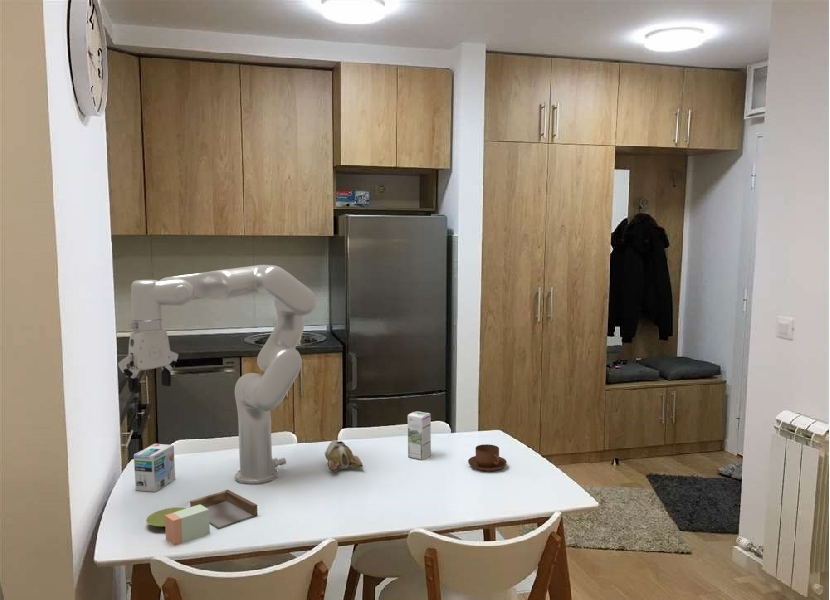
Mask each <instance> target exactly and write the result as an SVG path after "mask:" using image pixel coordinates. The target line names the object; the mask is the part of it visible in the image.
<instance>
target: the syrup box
mask: <svg viewBox="0 0 830 600" xmlns="http://www.w3.org/2000/svg"><path fill="white" fill-rule="evenodd" d="M431 419H432V417H431V413H429V412H422V411H412V412H411V413H409V414H407V444H408V445H407V451H408V452H407V454H408V455H407V456H408V458H411V459H415V460H419V461H423V460H426V459H428V458H430V457H431V456H432V440H431V439H432V435H431V432H432V431H431V429H432V427H431V425H432V424H431V423H432V421H431Z"/></svg>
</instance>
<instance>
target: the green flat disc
mask: <svg viewBox="0 0 830 600" xmlns="http://www.w3.org/2000/svg"><path fill="white" fill-rule="evenodd" d="M183 509H187V507H180V506H179V507H170V508H164V509H161V510H158V511H155V512H154V513H151V514H150V515H149V516H147V518H146V523H147V524H148V525H150V526H155V527H165V515H167V514H170V513H174V512H177V511H180V510H183Z"/></svg>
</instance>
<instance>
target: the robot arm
mask: <svg viewBox="0 0 830 600" xmlns="http://www.w3.org/2000/svg"><path fill="white" fill-rule="evenodd" d="M130 293H131V316H132V317H131V319H132V320H131V323H129V324H128V329H130V330H132V332H130V335H129V340H128V341H129V342H128V355H127V356H126V357H124V358H122V360H120V361H118V363H117V365H118V368H119V369H120V371H121V373H122V374H123V375H125V377H126V378H127V380H128V383H127V384H128V386H127V387H128V390H129V393H133V394H137V393H139V378H138V377H137V376H138V374H139V373H140V371H148V370H152V369H159V368H161V369H162V370H161V371H160V372H161V373H160V375H161V376H160V377H161V385H162V386H165V387H171V385H172V384H171V383H172V382H171V381H172V372H173V368H175V366H176V365H177V362H178V361H177V360H178V358H179V354H178V353H176V352H174V351H172V350H171V347H170V341H169V335H168V332H167V329H164V321H163V320H164V319H163V306H169V307H181V306H182V307H183V306H186V305H187V304H189V303H190V302H191V301H192V300H203V299H204V300H207V299H208V300H230V299H237V298H241V297H247V296H255V295H262V294H268V295H271V296H272V297H273V302H274V303H273V304H274V307H275V310H276V314H277V320H276V325H275V326H274V329H273V330H272V332H271V334H270V335H269V337H268V339H267V340H266V341H265V344H264V345H263V347H262V348H261V350H260V351H259V353H258V355H257V358H256V359H257V360H256V365H257V366H258V368H259V369H260V370H261V371H262V372H264V373H263V375H262V374H260V373H255V372H249V373H245V374H243V375H241V376H240V377H239V378H238V380H237V381H236V382H235V386H234V399H235V404H236V410H237V418H238V419H237V423H238V448H239V449H238V450H239V470H238V471H236V473H235V474H234V479H235V481H237V482H238V483H240V484H247V485H248V484H249V485H252V484H253V485H254V484H255V485H257V484H262V483H263V484H264V483H267V482H270V481H272V480H274V479H275V478H277V476H278V473H279V471H278V469H276V468H278V466H282V465H286V464H287V460H286V458H285V457H283V458H279V459H278V458H277V457H274V458H273V448H272V446H273V444H272V416H271V415H272V414H271V411H272V410H276V409H277V408H278V406H279V405H281V404H282V402H283V400H284V399H285V396H286V395H287V394H288V392H289V390H290V389H291V387H292V386H293V384H294V382H295V381H296V379H297V377H298V375H299V374H300V371H301V369H302V363H303V362H302V356H301V353H300V352H299V351H298V350H297V349H296V348H297V346H298V344H299V342H300V340H301V338H302V336H303V332H304V327H305V324H304V323H305V322H304V317H305V316H308V315H310V314H312V312H314V311H315V308H316V305H317V299H316V296H315V294H314V292H313V291H312V290H311V289H310V288H309V287H307V286H306V285H305V284H303V283H302V282H301V281H299V280H298V279H297V278H296V277H295V276H294V275H292V274H291V273H290V272H288V271H287V270H285V269H284V268H282V267H280V266H278V265H274V264H273V265H271V264H257V265H251V266H242V267H235V268H227V269H220V270H219V269H218V270H211V271H205V272H199V273H197V272H196V273H191V274H190V273H189V274H182V275H181V274H180V275H173V276H166V277H163V278H161V279H160V280H156V279H140V280H139V279H137V280H134V281H133V282H132V283H131V285H130ZM127 365H129V368H128V367H127Z"/></svg>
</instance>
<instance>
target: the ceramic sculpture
mask: <svg viewBox="0 0 830 600" xmlns="http://www.w3.org/2000/svg"><path fill="white" fill-rule="evenodd" d="M324 456H325V458H326V460H327V467H328V469H329V471H330V472H334V473H335V472H338V471H339V470H346V469H348V468H349V467H352V468H354V469H359V468H363V467H364V465H363V463H362V460H361V458H360V457H359V456H357V455H354V454H353V451H352V450H351V448H350V447H349V446H347V445H346V444H345V442H343V441H338V440H336V439H334V438H333V439H332V440H331V442H330V443H329V444H328V446H327V448H326V450H325V452H324Z"/></svg>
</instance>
